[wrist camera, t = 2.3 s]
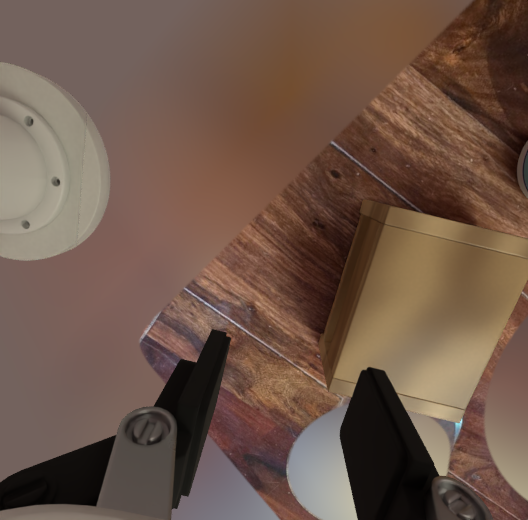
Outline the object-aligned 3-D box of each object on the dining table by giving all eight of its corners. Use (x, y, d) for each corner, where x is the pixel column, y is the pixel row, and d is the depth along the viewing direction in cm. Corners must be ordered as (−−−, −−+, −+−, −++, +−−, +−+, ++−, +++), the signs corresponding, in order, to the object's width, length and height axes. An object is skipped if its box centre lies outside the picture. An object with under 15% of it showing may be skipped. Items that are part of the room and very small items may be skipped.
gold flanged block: (318, 343, 30) (327, 392, 23) (363, 198, 26) (390, 205, 20) (419, 368, 30) (459, 423, 23) (478, 226, 26) (546, 243, 20)
